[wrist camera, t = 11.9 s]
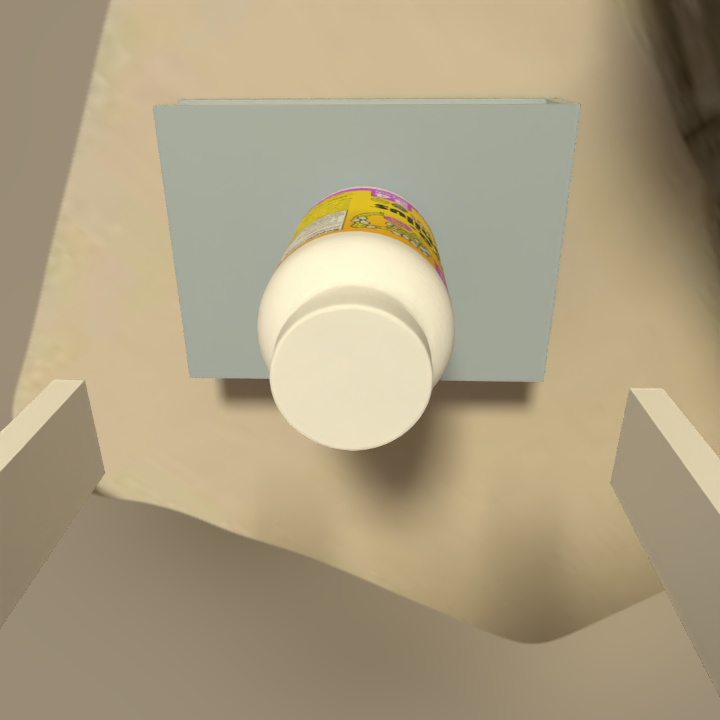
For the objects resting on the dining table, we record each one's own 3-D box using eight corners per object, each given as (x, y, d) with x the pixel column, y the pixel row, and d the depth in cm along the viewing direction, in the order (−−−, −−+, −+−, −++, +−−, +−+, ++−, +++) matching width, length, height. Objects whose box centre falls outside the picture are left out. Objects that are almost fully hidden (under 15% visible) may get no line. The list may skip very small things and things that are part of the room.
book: (555, 98, 30) (581, 104, 26) (526, 346, 36) (543, 381, 32) (181, 99, 31) (152, 106, 27) (210, 343, 37) (189, 377, 33)
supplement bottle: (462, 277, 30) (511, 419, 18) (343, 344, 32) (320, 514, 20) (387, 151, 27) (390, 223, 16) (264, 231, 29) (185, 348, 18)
